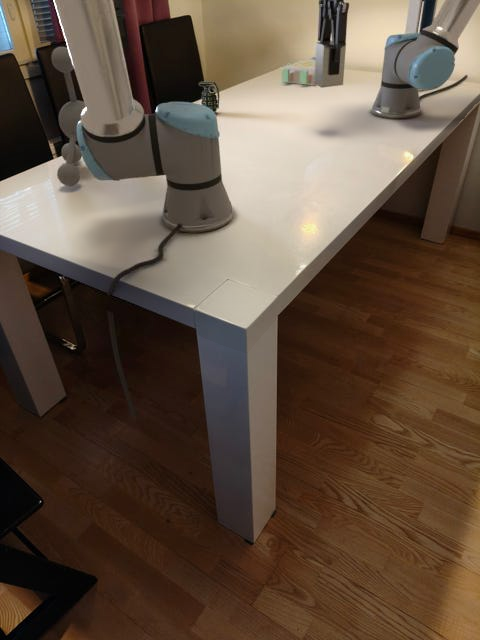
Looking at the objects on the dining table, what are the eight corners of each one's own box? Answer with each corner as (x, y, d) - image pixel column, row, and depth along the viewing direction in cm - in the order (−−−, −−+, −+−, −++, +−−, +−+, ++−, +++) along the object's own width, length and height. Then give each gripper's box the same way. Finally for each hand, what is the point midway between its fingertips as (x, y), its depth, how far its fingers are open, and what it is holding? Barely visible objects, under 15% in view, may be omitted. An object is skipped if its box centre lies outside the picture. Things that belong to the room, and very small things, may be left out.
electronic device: (399, 93, 181) (413, -3, 163) (389, 89, 187) (401, -5, 168) (429, 89, 183) (446, -6, 165) (418, 85, 189) (433, -8, 171)
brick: (335, 81, 143) (337, 40, 136) (343, 85, 139) (346, 42, 132) (314, 83, 142) (315, 42, 135) (321, 87, 138) (323, 45, 131)
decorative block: (304, 55, 215) (345, 58, 206) (303, 71, 219) (344, 74, 210) (272, 66, 199) (316, 70, 190) (273, 83, 203) (315, 88, 194)
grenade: (199, 115, 171) (196, 84, 165) (204, 110, 175) (201, 80, 169) (217, 115, 170) (215, 84, 164) (221, 111, 174) (219, 80, 168)
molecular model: (148, 176, 128) (126, 47, 109) (62, 192, 122) (23, 59, 103) (130, 150, 145) (108, 34, 127) (54, 163, 139) (20, 44, 121)
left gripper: (78, -64, 111) (99, 42, 124) (86, -68, 92) (109, 58, 105) (111, -66, 112) (128, 39, 125) (125, -70, 93) (144, 54, 106)
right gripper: (307, -28, 130) (304, 68, 145) (337, -26, 116) (331, 80, 131) (333, -30, 132) (328, 65, 146) (365, -28, 118) (356, 77, 132)
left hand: (120, 48), depth 115 cm, fingers open, 13 cm apart
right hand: (329, 72), depth 138 cm, fingers closed on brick, 5 cm apart
